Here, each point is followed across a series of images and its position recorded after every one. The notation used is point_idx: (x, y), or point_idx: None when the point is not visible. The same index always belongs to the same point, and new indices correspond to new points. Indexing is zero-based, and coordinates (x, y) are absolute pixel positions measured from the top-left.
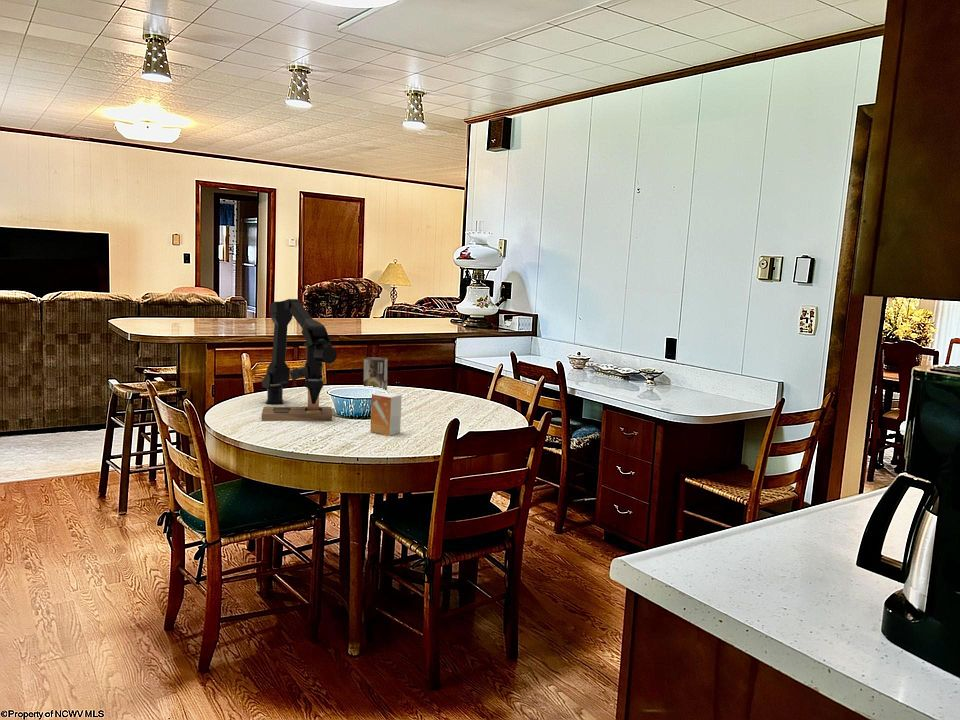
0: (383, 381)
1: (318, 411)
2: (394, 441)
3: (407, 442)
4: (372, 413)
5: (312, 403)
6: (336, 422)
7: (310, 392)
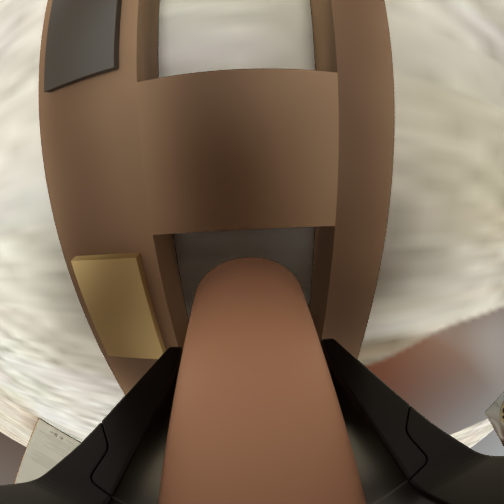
0: (502, 440)
1: (126, 346)
2: (9, 421)
3: (18, 432)
4: (22, 460)
5: (169, 352)
6: (108, 377)
7: (68, 459)
